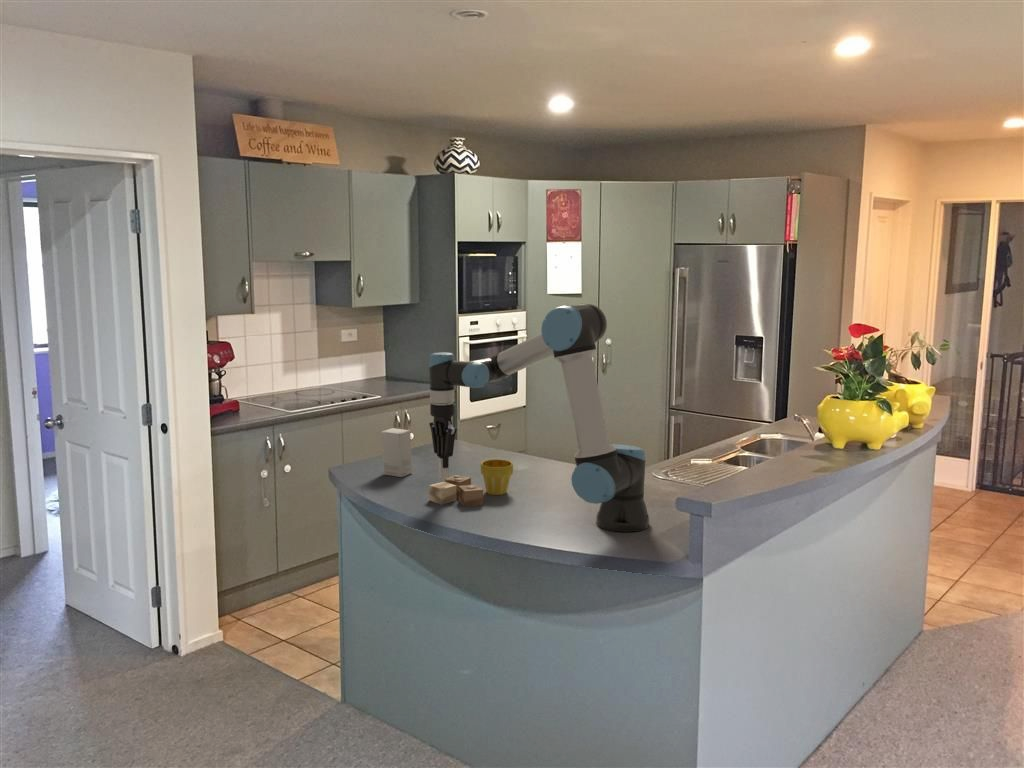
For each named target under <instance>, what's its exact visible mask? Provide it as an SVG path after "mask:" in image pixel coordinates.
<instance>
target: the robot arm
mask: <svg viewBox="0 0 1024 768" xmlns="http://www.w3.org/2000/svg"><path fill="white" fill-rule="evenodd" d="M607 323H608V321H607V317H606V315H605V313H604V312H603V310H602V309H600V308H599V307H598V306H596V305H595V304H592V303H579V304H578V303H577V304H566V305H561V306H557V307H555V308H553V309H551V310H550V311H548V313H547V314H546V315H545V317H544V319H543V321H542V324H541V333H539V334H537V335H535V336H532V337H529V338H528V339H526V340H524V341H522V342H520V343H517V344H515V345H512V346H511V347H509V348H507V349H505V350H503V351H501V352H499V353H496V354H494V355H492V356H490V357H486V358H481V359H476V360H475V359H474V360H468V361H462V360H455V356H454V353H452V352H445V351H442V352H433V353H431V354H430V355H429V366H428V369H429V370H428V371H429V386H430V387H429V402H430V405H429V406H430V407H429V408H430V416H432V417H433V421H431V422H429V428H430V432H431V440H432V445H433V446H432V448H433V452H434V454H436V456H437V458H438V459H437V460H438V461H437V463H438V478H439V479H447V478H449V474H450V473H449V471H450V469H449V468H450V467H449V466H450V464H449V460H450V459H449V458H450V457H453V456H454V448H455V441H456V440H455V439H456V434H457V430H458V429H457V427H454V426H453V421H452V417H453V416H455V414H456V408H455V406H456V404H455V403H454V402H455V392H456V391H455V386H457V387H465V388H470V389H476V388H477V389H480V388H484V387H485V386H486V385H487V384H489V383H492V382H500V381H503V380H506V379H507V378H508V377H510V376H511V375H512V374H515V373H517V372H519V371H521V370H524V369H526V368H528V367H530V366H533V365H535V364H537V363H539V362H542V361H544V360H547V359H549V358H551V357H554V359H555V360H556V361H558V362H559V363H560V364H561V368H562V369H561V370H562V374H563V379H564V383H565V389H566V392H567V393H566V394H567V398H568V404H569V407H570V408H569V409H570V413H571V416H572V417H571V419H572V422H573V428H574V433H575V439H576V442H577V448H578V449H577V452H576V453H575V454H574V459H575V460H574V461H575V468H574V469H573V472H572V474H571V477H570V478H571V485H572V488H573V491H574V492H575V493H576V495H577V497H579V498H580V499H582V500H583V501H584V502H585V503H589V504H594V505H596V504H598V505H599V504H600V505H599V509H598V511H597V513H596V517H595V518H596V521H595V522H596V524H597V526H598V527H600V528H601V529H604V530H607V531H612V532H620V533H630V532H629V531H635V532H638V531H637V530H641V529H644V528H646V527H647V528H649V526H650V516H649V514H648V510H647V506H646V502H645V499H644V498H645V496H644V495H645V494H644V493H645V477H646V475H645V473H646V462H647V461H646V452H645V449H643V448H642V447H639V446H633V445H629V444H628V445H627V444H616V443H614V444H611V443H610V439H609V433H608V429H607V425H606V419H605V415H604V410H603V405H602V399H601V395H600V390H599V385H598V380H597V375H596V370H595V365H594V360H593V357H594V354H595V353H596V351H597V346H596V343H597V342H599V341H600V340H601V339H602V338H603V337H604V336H605V334H606V330H607V327H608V324H607ZM648 525H649V526H648ZM647 528H646V529H647ZM644 530H645V529H644ZM621 531H622V532H621ZM641 531H642V530H641Z"/></svg>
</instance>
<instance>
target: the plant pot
mask: <svg viewBox="0 0 1024 768" xmlns="http://www.w3.org/2000/svg"><path fill="white" fill-rule="evenodd" d="M480 473H481V475H482V478H483V482H484V486H485V492H486V493H487V494H488V495H491V496H503V495H505V494H507V492H508V489H509V484H510V479H511V476H512V475H513V473H514V462H512V461H511V460H508V459H507V460H506V459H502V458H501V459H500V458H498V459H497V458H496V459H493V458H492V459H487V460H483V461H481V463H480Z"/></svg>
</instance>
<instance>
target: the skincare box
mask: <svg viewBox="0 0 1024 768" xmlns="http://www.w3.org/2000/svg"><path fill="white" fill-rule="evenodd" d="M380 432H381V448H382V449H381V450H382V452H381V453H382V469H383V471H382V472H383V475H387V476H393V477H397V478H398V477H399V478H403V477H407V476H409V475H410V474H413V465H412V445H411V444H412V441H411V439H412V438H411V430H410V429H402V428H394V427H391V428H389V429H386V430H382V431H380Z"/></svg>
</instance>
